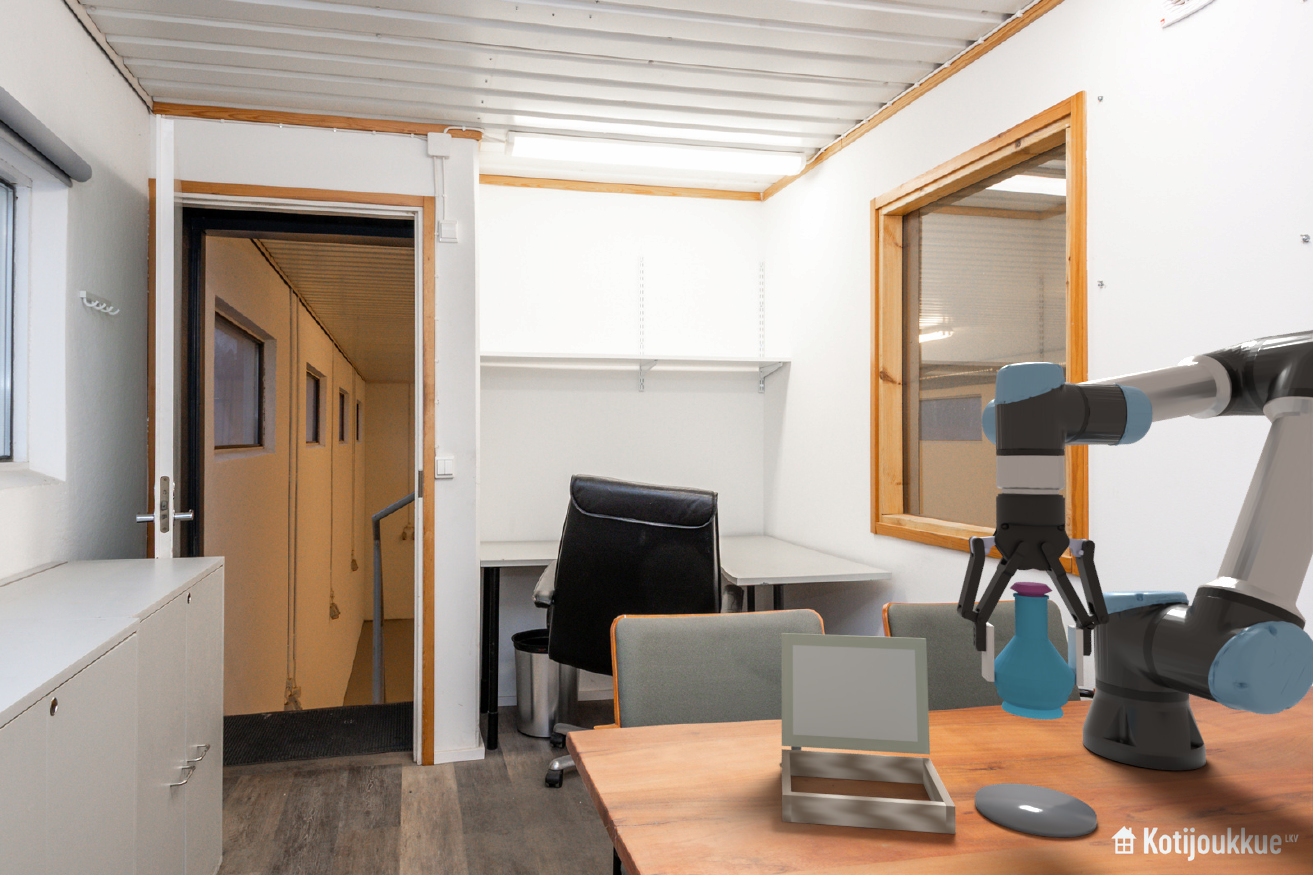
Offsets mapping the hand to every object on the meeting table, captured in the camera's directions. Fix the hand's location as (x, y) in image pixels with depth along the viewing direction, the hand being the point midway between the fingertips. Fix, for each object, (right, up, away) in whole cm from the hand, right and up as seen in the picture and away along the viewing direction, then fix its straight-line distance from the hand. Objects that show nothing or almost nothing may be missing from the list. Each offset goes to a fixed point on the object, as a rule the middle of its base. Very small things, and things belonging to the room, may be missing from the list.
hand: (1031, 680), depth 94 cm
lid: (-18, -5, +11) cm, 22 cm away
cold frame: (-20, -15, +2) cm, 25 cm away
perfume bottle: (0, -4, 0) cm, 4 cm away
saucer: (0, -15, -1) cm, 15 cm away
